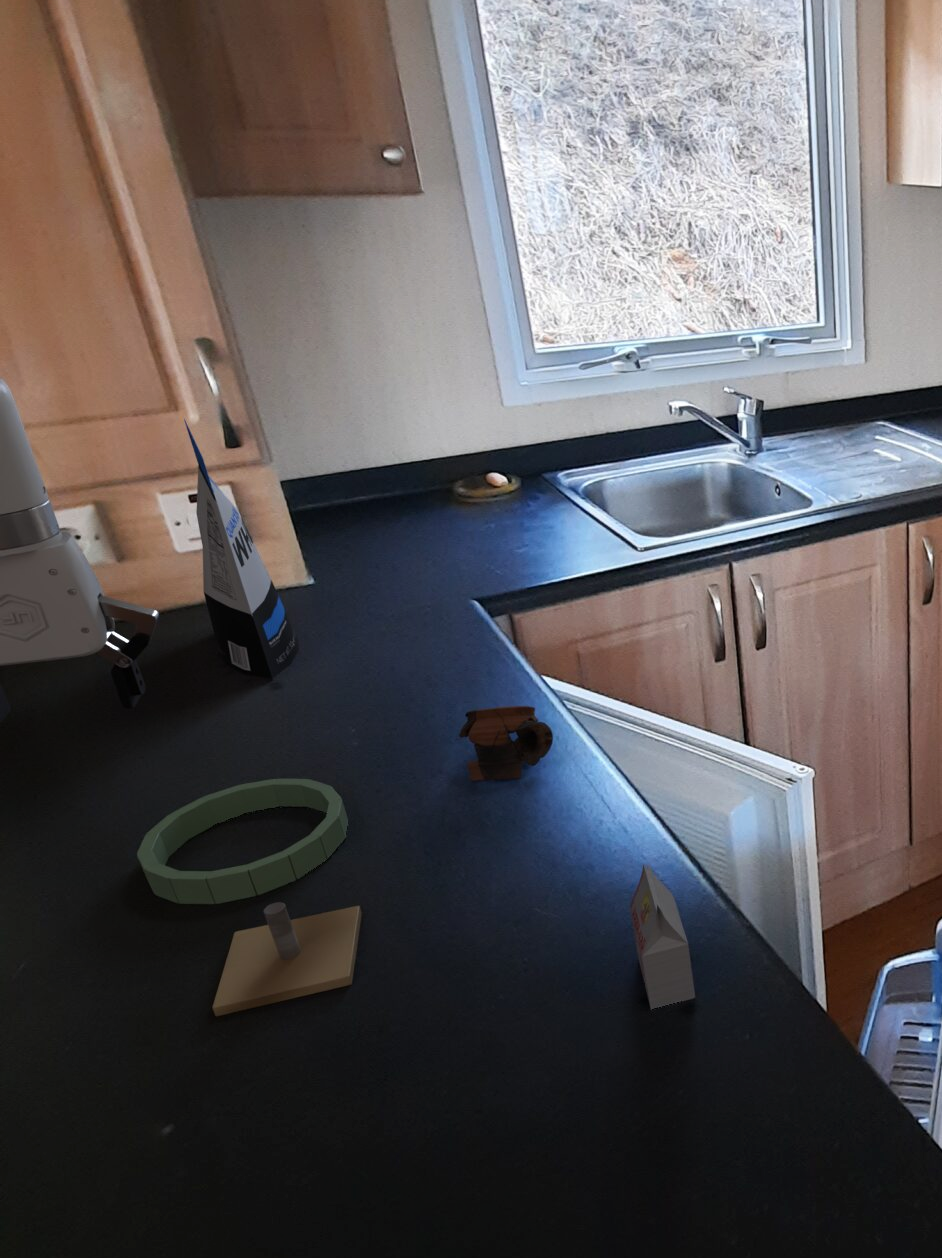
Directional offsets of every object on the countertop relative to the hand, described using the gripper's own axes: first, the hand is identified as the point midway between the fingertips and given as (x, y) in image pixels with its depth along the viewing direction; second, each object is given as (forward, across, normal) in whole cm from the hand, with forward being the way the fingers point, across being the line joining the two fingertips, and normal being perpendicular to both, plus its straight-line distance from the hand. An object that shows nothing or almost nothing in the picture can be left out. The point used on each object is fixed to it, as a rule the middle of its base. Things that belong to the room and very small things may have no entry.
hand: (68, 710), depth 94 cm
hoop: (+18, +10, +1) cm, 21 cm away
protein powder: (+18, +3, +54) cm, 57 cm away
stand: (+18, +16, -19) cm, 31 cm away
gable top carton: (+18, +46, -33) cm, 59 cm away
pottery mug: (+18, +35, +9) cm, 40 cm away
